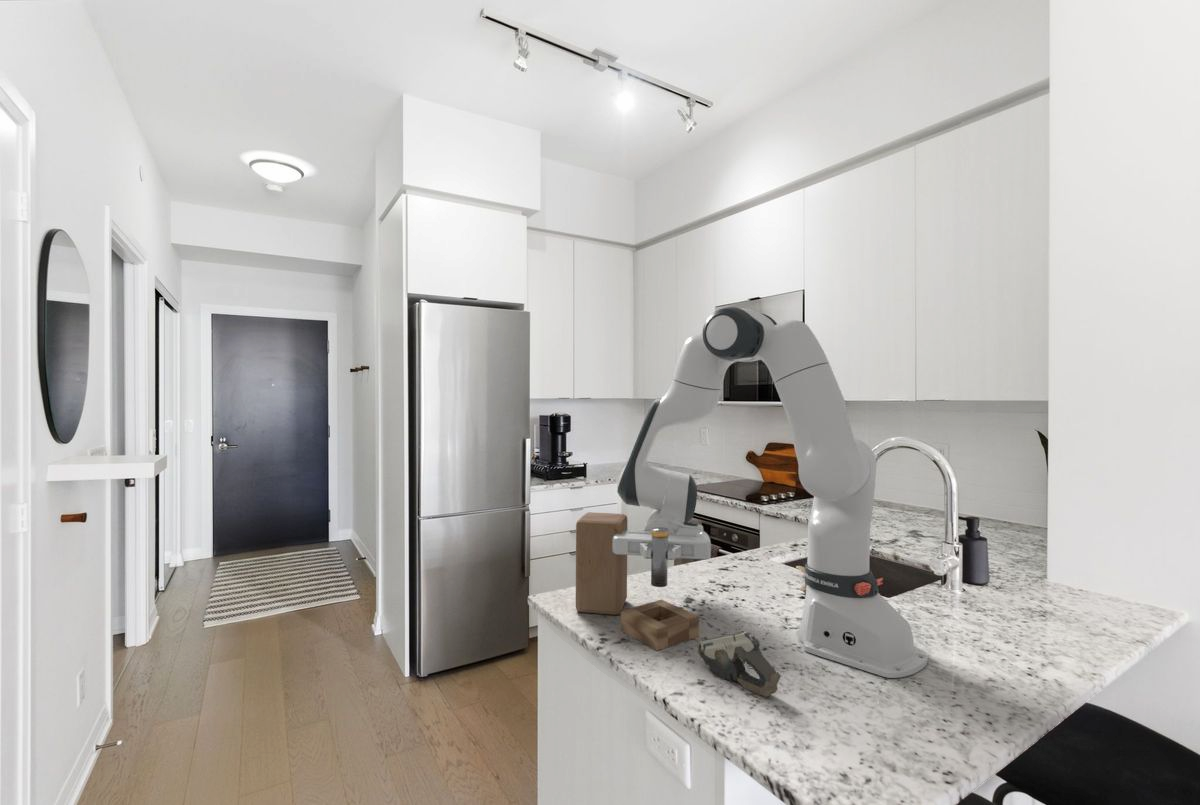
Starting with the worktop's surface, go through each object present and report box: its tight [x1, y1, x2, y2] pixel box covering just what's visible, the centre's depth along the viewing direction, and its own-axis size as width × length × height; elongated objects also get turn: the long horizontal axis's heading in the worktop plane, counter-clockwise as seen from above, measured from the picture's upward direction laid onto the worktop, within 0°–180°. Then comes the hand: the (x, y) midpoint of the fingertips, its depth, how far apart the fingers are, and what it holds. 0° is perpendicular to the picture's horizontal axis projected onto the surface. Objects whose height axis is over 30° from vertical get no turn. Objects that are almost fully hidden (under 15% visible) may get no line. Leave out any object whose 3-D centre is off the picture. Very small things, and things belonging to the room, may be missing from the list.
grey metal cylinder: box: [650, 527, 669, 588], centre depth 114 cm, size 3×3×11 cm
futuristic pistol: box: [697, 630, 781, 697], centre depth 96 cm, size 2×15×10 cm, turn 38°
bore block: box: [620, 599, 700, 651], centre depth 114 cm, size 11×11×4 cm
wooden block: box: [575, 511, 628, 616], centre depth 128 cm, size 10×10×20 cm
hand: (659, 555), depth 113 cm, fingers closed on grey metal cylinder, 3 cm apart
